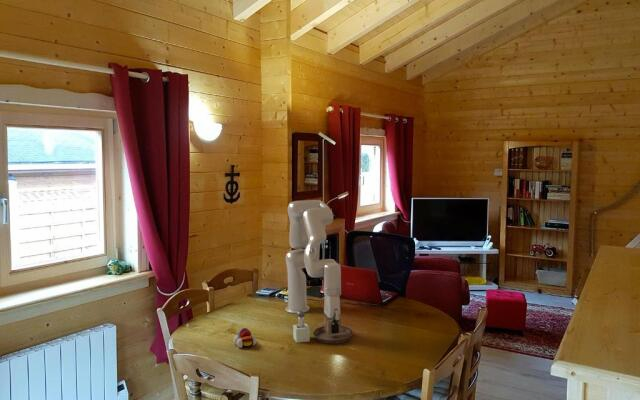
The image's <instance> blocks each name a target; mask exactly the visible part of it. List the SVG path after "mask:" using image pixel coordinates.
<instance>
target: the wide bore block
mask: <svg viewBox="0 0 640 400" xmlns="http://www.w3.org/2000/svg"><path fill="white" fill-rule="evenodd" d="M292 328H293V330H292V333H293V334H292V335H293V340H294V341H295V343H305V342H310V340H311V339H310V338H311V337H310V336H311V334H310V329H311V328H310V326H309V325H308V323H304V328H299V327H298V324H293V325H292Z"/></svg>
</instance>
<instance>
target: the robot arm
mask: <svg viewBox="0 0 640 400" xmlns="http://www.w3.org/2000/svg"><path fill="white" fill-rule="evenodd" d="M287 214H288V219H289V239H288V242H289V246H290V247H291V248H292V249H294V250H289V251H288V252H287V253H286V255H285V264H286V265H285V266H286V270H287V305H286V306H285V309H284V310H285V311H286V312H287V313H288V314H289V313H290V314H298V312H299V311H303V312H304V313H307V312H309V311H310V309H311V308H310V306H309V305H308V303H307V277H306V274H305V272H304V271H303V270H302V269H305V270H306V272H307V275H308V276H309V277H311V278H321V277H322V278H323V295H324V300H323V302H324V303H323V313H324V314H325V315H326V317H329V318H330V319H331V318H332V324H331V332H332V333H338V332H339V318H340V317H341V300H340V299H341V297H340V296H341V295H342V268H341V267H342V266H341V264H339V263H338V262H337V261H336V260H335V259H332V258H326V259H320V248H321V244H322V243H324V242H325V241H326V239H327V234H326V230H325V225H326V226H327V225H331V224H332V223H333V222H334V215H333V214H334V213H333V211H332V209H331V208H330V207H329V206H328V205H327V204H326V203H325V202H324V201H322V200H320V199H307V200H295V201H292V202H289V204H288V206H287ZM333 316H335V317H333ZM334 319H335V320H334Z"/></svg>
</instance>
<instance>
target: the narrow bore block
mask: <svg viewBox="0 0 640 400" xmlns="http://www.w3.org/2000/svg"><path fill="white" fill-rule="evenodd" d="M333 317H335V316H333ZM323 319H324V320H323V322H324V324H323V326H324V330H325V331H326V333H327V334H328V335H330V334H339V333H341V326H342V319H341V318H340V317H339V332H338V333H332V332H331V324H332V318H331V319H330V318H329V317H327V316H324V317H323ZM334 320H335V319H334Z"/></svg>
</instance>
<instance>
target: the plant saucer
mask: <svg viewBox="0 0 640 400" xmlns="http://www.w3.org/2000/svg"><path fill="white" fill-rule="evenodd" d="M353 333H354V331H353V330H352V329H351V328H350V327H348V326H344V325H341V333H339V334H330V335H328V334H327V333H326V331H325V330H324V325H323V326H322V325H321V326H320V327H317V328H315V329H314V330H313V332H312V334H313V337H315V339H316V340H318V341H319V342H320V343H324V344H330V345H331V344H342V343H345V342H347V341H348V340H349V339H350V338H351V336H352V335H353Z"/></svg>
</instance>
